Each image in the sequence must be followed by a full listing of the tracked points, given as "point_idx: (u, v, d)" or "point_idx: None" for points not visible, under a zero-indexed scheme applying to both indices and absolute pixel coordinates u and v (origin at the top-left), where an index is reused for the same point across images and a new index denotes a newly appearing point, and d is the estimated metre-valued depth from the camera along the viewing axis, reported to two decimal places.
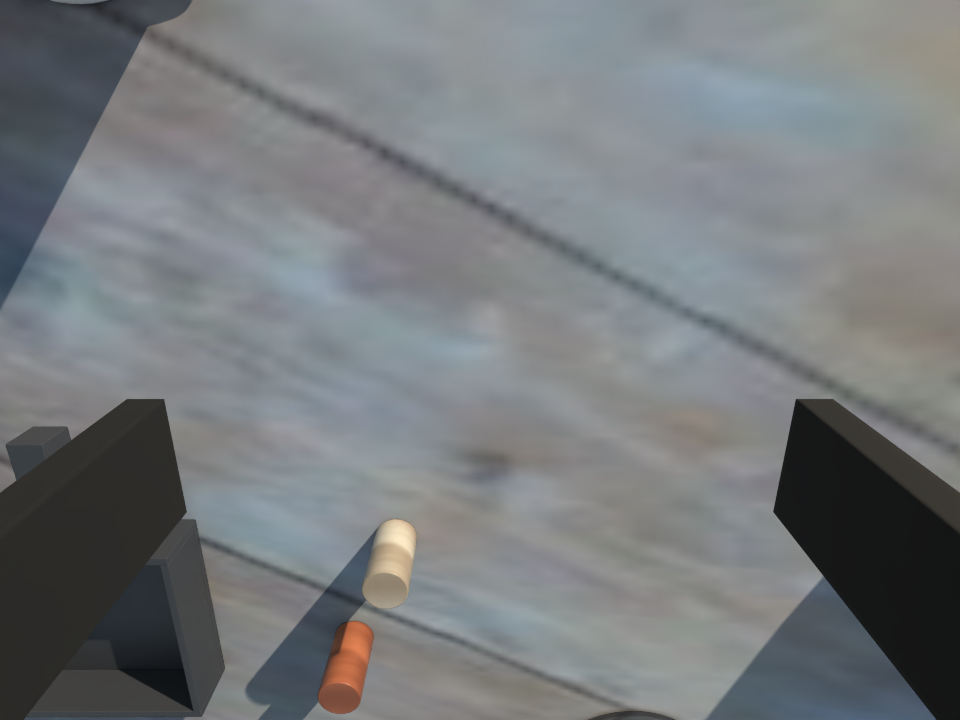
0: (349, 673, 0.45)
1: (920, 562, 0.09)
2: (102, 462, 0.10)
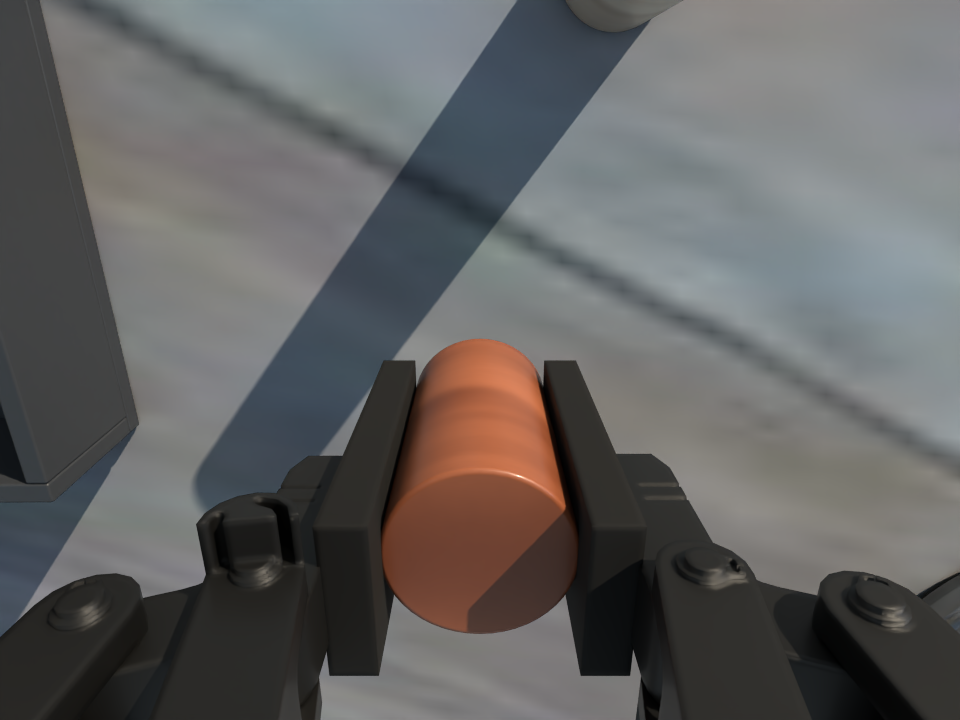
0: (523, 447, 0.10)
1: None
2: (405, 406, 0.12)
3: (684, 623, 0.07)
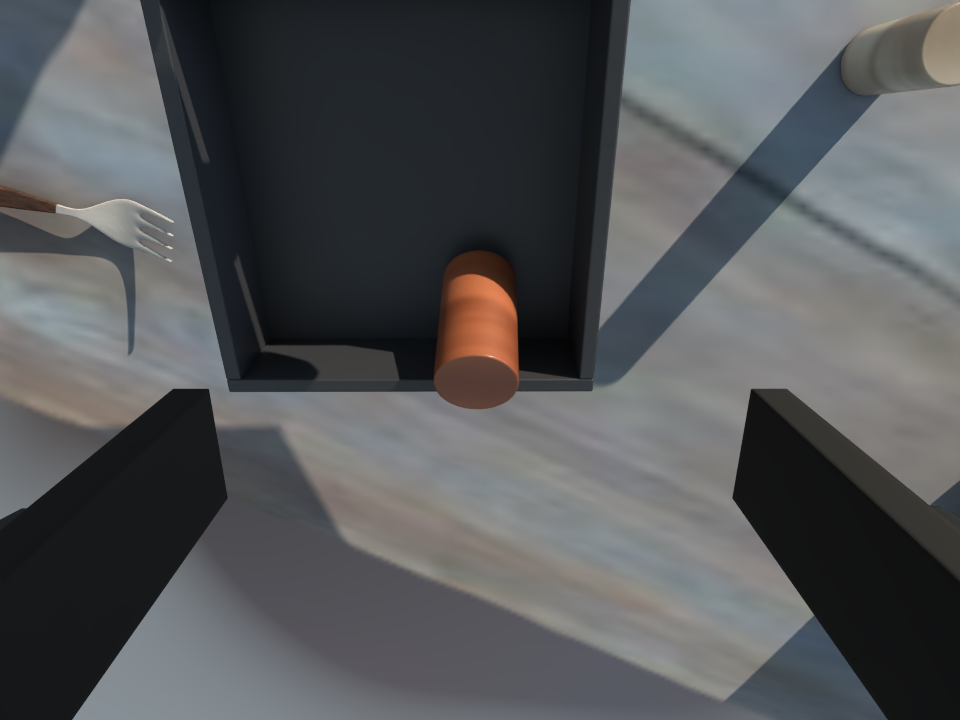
0: (495, 339, 0.22)
1: (851, 539, 0.09)
2: (158, 446, 0.11)
3: None
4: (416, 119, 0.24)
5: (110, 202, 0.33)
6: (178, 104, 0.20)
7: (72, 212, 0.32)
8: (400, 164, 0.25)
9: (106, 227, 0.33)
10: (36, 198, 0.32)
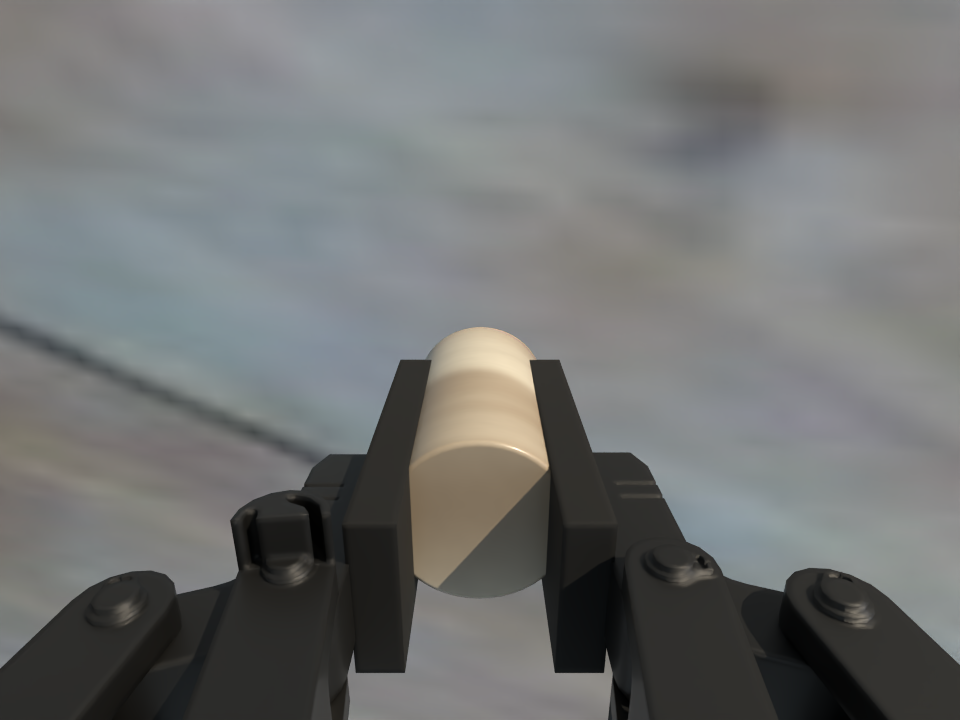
0: None
1: None
2: None
3: (652, 621, 0.07)
4: None
5: None
6: None
7: None
8: None
9: None
10: None
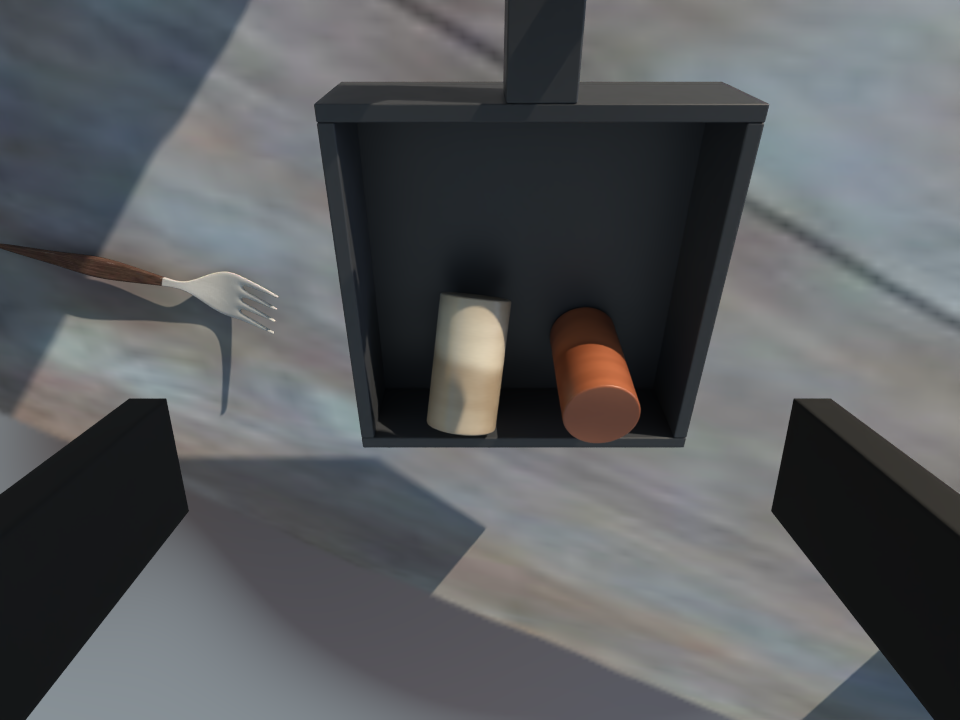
0: (621, 375, 0.24)
1: (916, 561, 0.09)
2: (105, 461, 0.10)
3: None
4: (536, 208, 0.26)
5: (213, 274, 0.34)
6: (343, 221, 0.22)
7: (177, 284, 0.34)
8: (518, 246, 0.27)
9: (208, 298, 0.34)
10: (144, 272, 0.33)
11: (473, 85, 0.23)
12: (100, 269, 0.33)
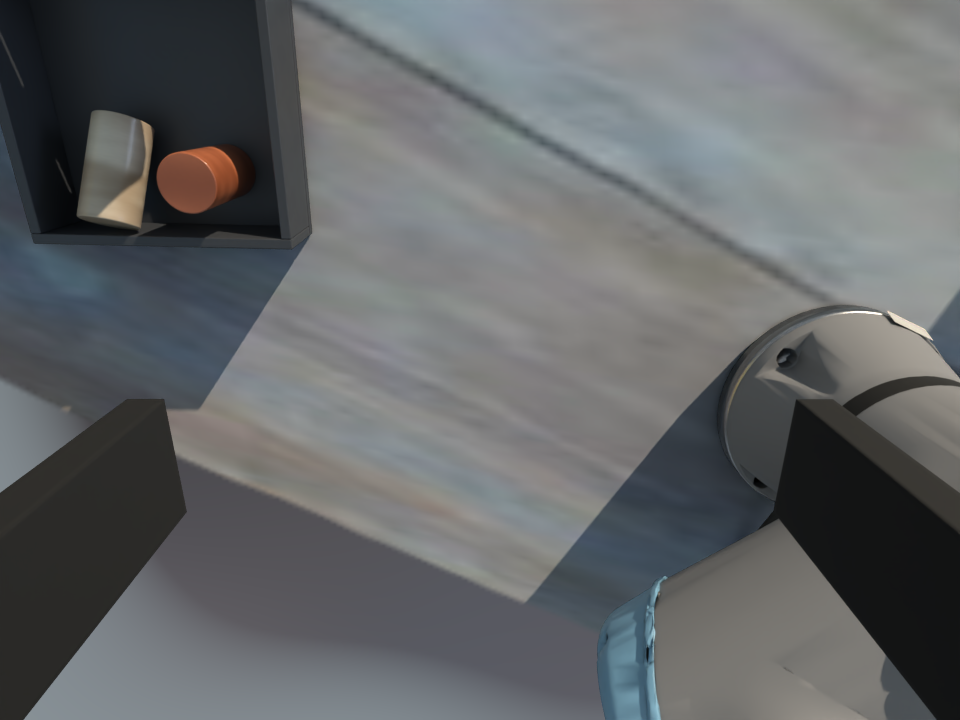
0: (204, 155, 0.32)
1: (920, 562, 0.09)
2: (102, 462, 0.10)
3: None
4: (169, 56, 0.35)
5: None
6: None
7: None
8: (162, 89, 0.35)
9: None
10: None
11: None
12: None
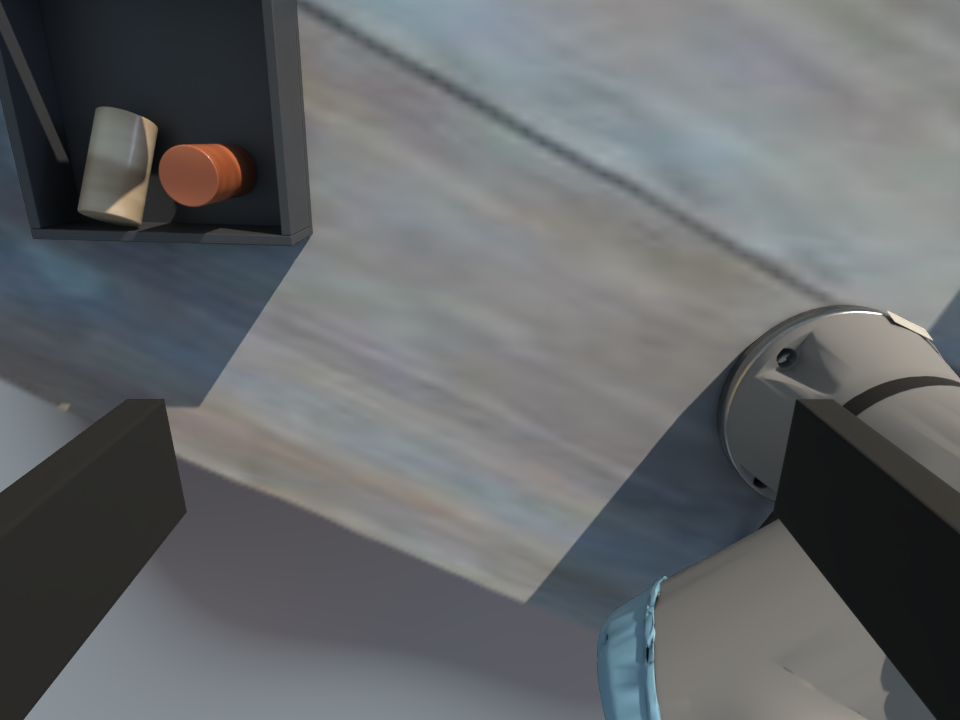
0: (207, 149, 0.32)
1: (920, 562, 0.09)
2: (102, 462, 0.10)
3: None
4: (175, 57, 0.35)
5: None
6: None
7: None
8: (167, 89, 0.36)
9: None
10: None
11: None
12: None
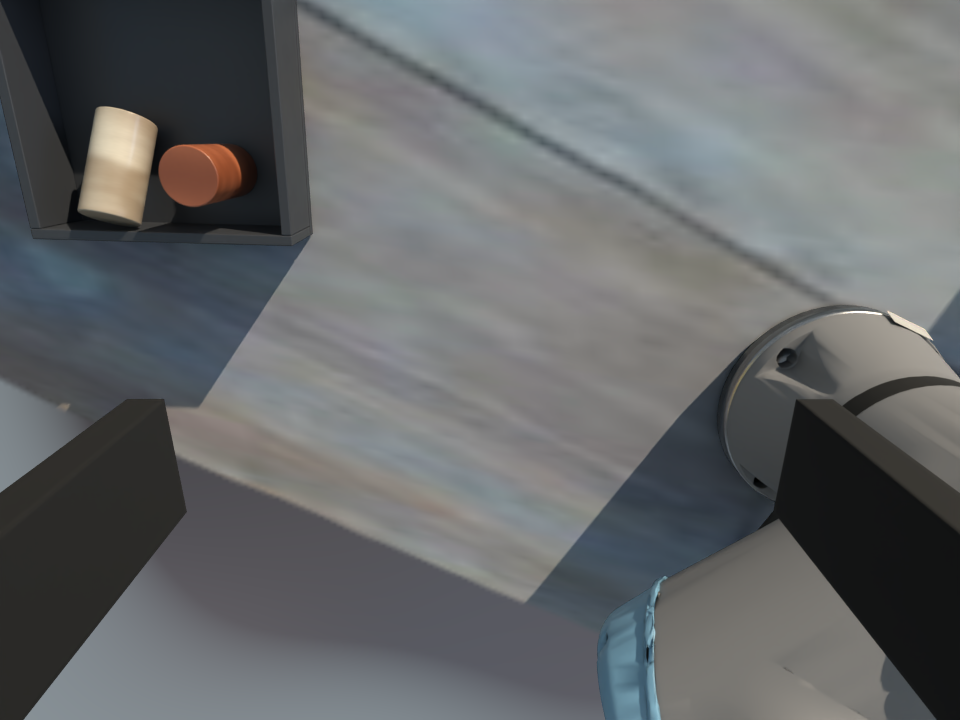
0: (207, 149, 0.32)
1: (920, 562, 0.09)
2: (102, 462, 0.10)
3: None
4: (175, 57, 0.35)
5: None
6: None
7: None
8: (167, 89, 0.36)
9: None
10: None
11: None
12: None
